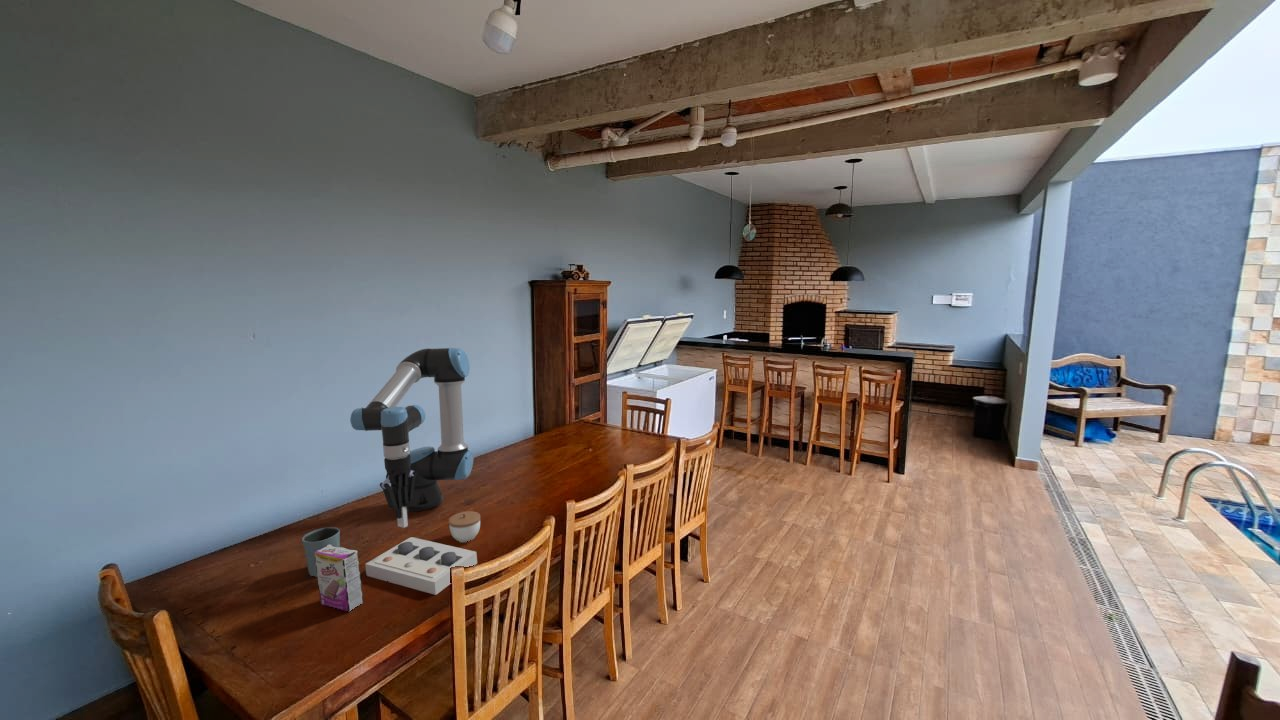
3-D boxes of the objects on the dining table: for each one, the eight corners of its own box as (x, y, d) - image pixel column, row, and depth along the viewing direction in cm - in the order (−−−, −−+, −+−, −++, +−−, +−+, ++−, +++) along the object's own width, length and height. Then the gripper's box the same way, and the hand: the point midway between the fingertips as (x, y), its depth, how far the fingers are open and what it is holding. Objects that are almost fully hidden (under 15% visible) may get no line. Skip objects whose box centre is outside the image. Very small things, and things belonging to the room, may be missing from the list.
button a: (406, 549, 168) (405, 540, 167) (416, 551, 166) (415, 543, 165) (395, 555, 163) (394, 547, 163) (405, 558, 162) (404, 549, 161)
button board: (412, 547, 173) (410, 535, 173) (477, 563, 163) (476, 550, 162) (366, 575, 157) (365, 562, 156) (435, 595, 146) (434, 580, 146)
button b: (427, 554, 164) (426, 545, 164) (437, 556, 163) (436, 548, 162) (416, 561, 160) (415, 552, 160) (427, 563, 158) (426, 554, 158)
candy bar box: (319, 606, 142) (312, 552, 140) (335, 595, 147) (329, 543, 144) (349, 613, 139) (343, 558, 136) (364, 603, 143) (358, 549, 141)
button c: (448, 559, 161) (447, 550, 160) (459, 562, 159) (458, 553, 159) (438, 566, 157) (437, 557, 156) (449, 569, 155) (448, 560, 155)
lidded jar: (471, 547, 173) (470, 521, 172) (443, 544, 175) (441, 519, 174) (487, 532, 184) (485, 508, 182) (460, 529, 186) (458, 505, 184)
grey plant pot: (304, 581, 154) (299, 545, 152) (308, 565, 163) (304, 531, 161) (342, 572, 159) (338, 537, 157) (344, 557, 168) (340, 523, 166)
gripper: (388, 463, 152) (395, 537, 155) (422, 451, 164) (427, 519, 167) (370, 461, 155) (377, 533, 158) (404, 448, 167) (410, 516, 170)
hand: (402, 525), depth 163 cm, fingers closed
